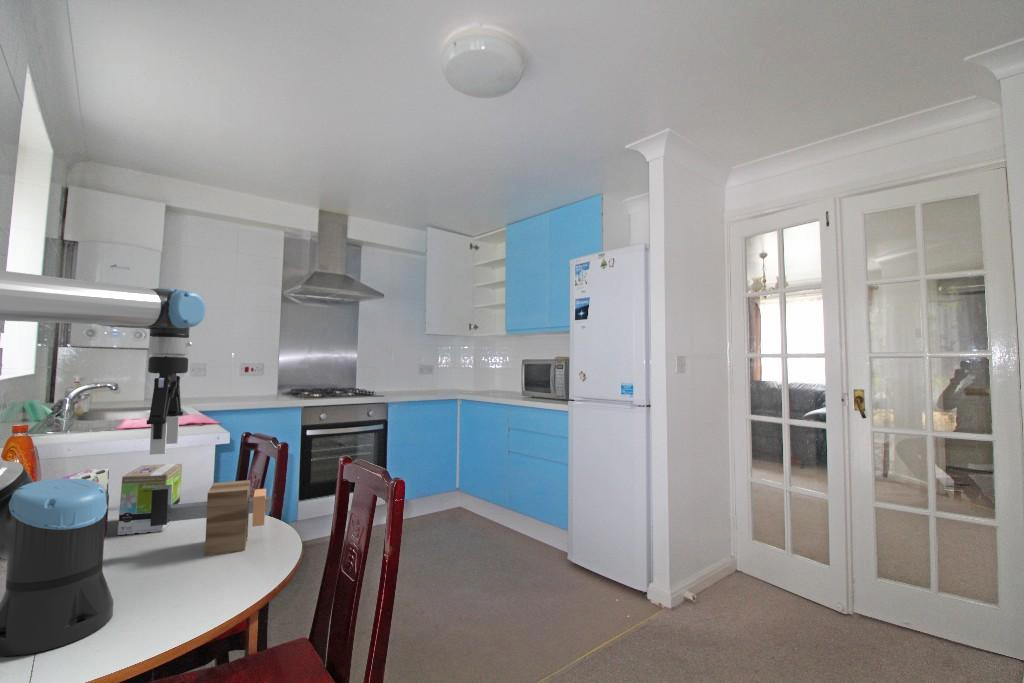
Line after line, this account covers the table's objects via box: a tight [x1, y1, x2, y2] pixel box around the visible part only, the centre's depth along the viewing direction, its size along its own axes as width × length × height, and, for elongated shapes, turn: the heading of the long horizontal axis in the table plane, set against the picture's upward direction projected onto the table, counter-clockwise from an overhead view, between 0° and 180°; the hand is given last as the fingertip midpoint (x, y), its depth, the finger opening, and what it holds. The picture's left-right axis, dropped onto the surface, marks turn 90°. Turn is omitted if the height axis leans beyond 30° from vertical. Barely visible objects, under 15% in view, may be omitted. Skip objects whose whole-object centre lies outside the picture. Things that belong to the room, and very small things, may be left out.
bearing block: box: [204, 479, 251, 557], centre depth 116 cm, size 10×8×14 cm
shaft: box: [150, 485, 272, 526], centre depth 115 cm, size 4×24×8 cm, turn 115°
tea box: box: [117, 463, 183, 536], centre depth 129 cm, size 15×10×15 cm
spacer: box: [251, 488, 267, 527], centre depth 119 cm, size 7×2×7 cm, turn 25°
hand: (164, 448), depth 111 cm, fingers open, 13 cm apart
